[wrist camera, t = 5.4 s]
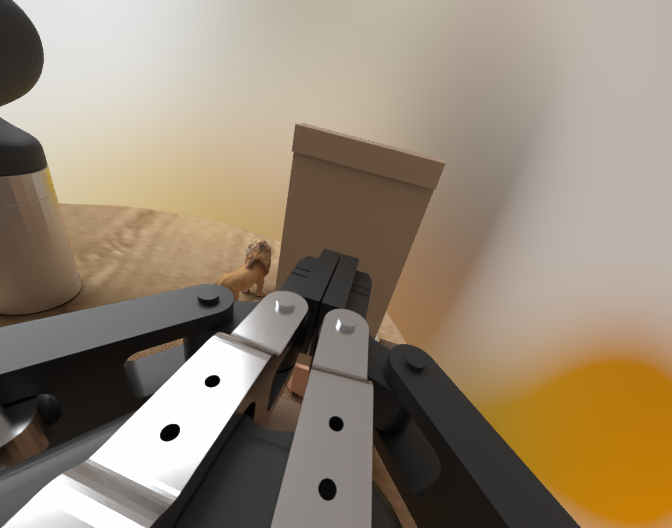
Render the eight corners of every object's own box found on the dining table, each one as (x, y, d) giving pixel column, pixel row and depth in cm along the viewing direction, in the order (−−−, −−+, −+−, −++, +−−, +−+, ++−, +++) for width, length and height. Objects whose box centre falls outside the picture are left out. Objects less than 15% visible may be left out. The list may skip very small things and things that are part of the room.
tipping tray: (363, 388, 20) (456, 166, 12) (258, 353, 21) (285, 121, 13) (378, 290, 31) (431, 141, 24) (309, 269, 32) (339, 118, 24)
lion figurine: (247, 275, 52) (250, 231, 48) (274, 284, 52) (280, 240, 47) (195, 326, 40) (192, 272, 35) (229, 338, 39) (232, 286, 35)
